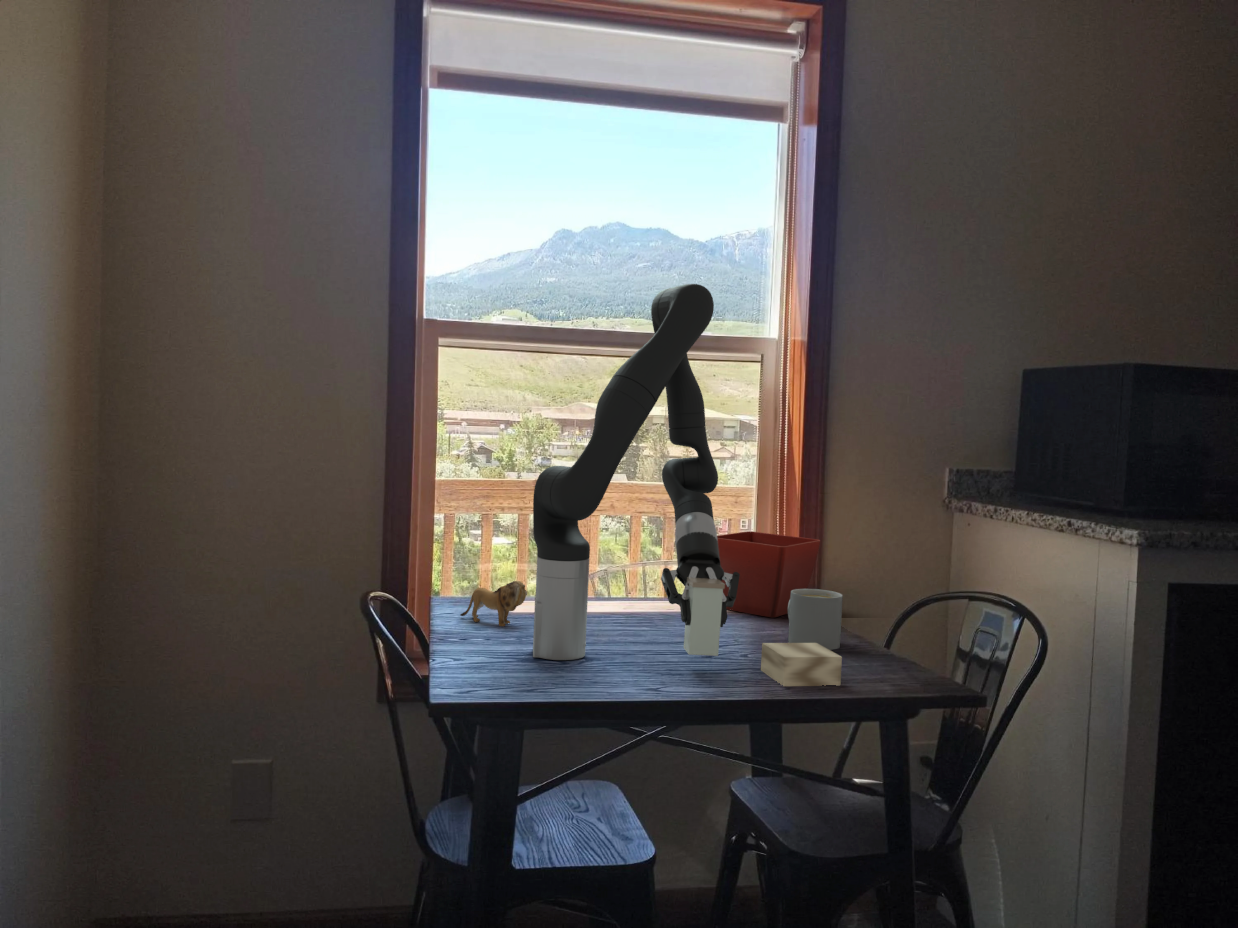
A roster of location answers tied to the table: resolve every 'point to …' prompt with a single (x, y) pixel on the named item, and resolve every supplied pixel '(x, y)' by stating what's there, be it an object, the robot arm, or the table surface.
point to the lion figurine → (498, 600)
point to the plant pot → (766, 569)
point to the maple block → (801, 664)
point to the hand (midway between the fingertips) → (705, 623)
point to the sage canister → (704, 616)
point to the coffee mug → (815, 617)
